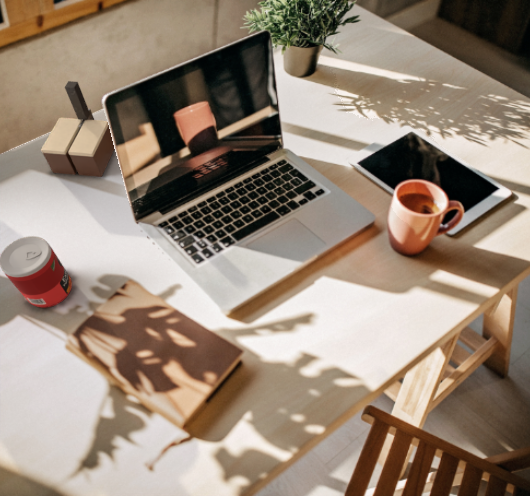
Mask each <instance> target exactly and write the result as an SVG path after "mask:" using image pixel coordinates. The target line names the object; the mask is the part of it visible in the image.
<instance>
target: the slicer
mask: <svg viewBox="0 0 530 496" xmlns="http://www.w3.org/2000/svg"><path fill="white" fill-rule="evenodd" d="M64 89H65V91H66V94H67V96H68V100H69V101H70V103H71V106H72V109H73V110H74V113H75V115H76V119H79V120H82V122H81V124H80V126H79V128H80V129H81V127H82V125H83V123H84V122H85V120H87V119H88V120H95V117H94V115H93V112H92V110H91V108H89V107H88V105H87V102H86V99H85V97H84V94H83V92H82V89H81V87H80V84H79V82H78V81H72V80H68V81H67V82H66V84H65V86H64Z"/></svg>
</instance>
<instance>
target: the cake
mask: <svg viewBox="0 0 530 496" xmlns="http://www.w3.org/2000/svg"><path fill="white" fill-rule="evenodd" d="M107 121H108V120H102V119H101V120H100V119H94V120H88V119H87V120H85V122H84V123H83V125H82V127H81V129H80V128H79V126H80V124H81V122H82V120H79V119H78V118H71V117H70V118H69V117H58V120H57V121H56V123H55V125H54V127H53V128H52V130H51V132H50V133H49V134H48V137H47V139H46V140H45V142H44V143H43V145H42V147H41V149H40V151H41V152H42V155H43V157H44V159H45V161H46V162H47V164H48V166H49V168H50V170H51V172H52V173H53V174H61V175H62V174H63V175H73V176H74V175H77V173H78V175H79V176H86V177H95V178H96V177H97V178H102V177H103V175H104V173H105V171H106V169H107V166H108V165H109V162H110V159H112V155H113V154H114V151H115V149H114V145H113V141H112V137H111V133H110V129H109V125H110V124H109V125H108V122H109V121H108V122H107Z"/></svg>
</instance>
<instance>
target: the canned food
mask: <svg viewBox="0 0 530 496" xmlns="http://www.w3.org/2000/svg"><path fill="white" fill-rule="evenodd" d="M0 269H1V271H2V272H3V273H4V275H5V276H6V277H7V279H8V280H9V281H10V282H11V283H12V285H14V287H15V288H16V289H17V290H18V292H20V294H21V295H22V296H23V297H24V299H25V300H27V301H26V302H28V303H29V304H31V305H32V306H34V307H38V308H42V309H43V308H45V309H47V308H52V307H54V306H57V305H59V304H61V303H62V302H63V301H65V299H67V297H68V296H69V295H70V293H71V291H72V288H73V282H72V278H71V276H70V274H69V273H68V271H67V270H66V268H65V266H64V265H63V263H62V261H61V260H60V258H59V257H58V256H57V254H56V253H55V251H54V249H53V248H52V246H51V245H50V243H49V242H48V241H47V240H46V239H44V238H42V237H40V236H34V235H31V236H30V235H29V236H24V237H23V236H22V237H21V238H18V239H16V240H13V241H12V242H10V243H9V244H8V245H7V246H6V247H5V248H4V249H3V250H2V252H1V253H0Z"/></svg>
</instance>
